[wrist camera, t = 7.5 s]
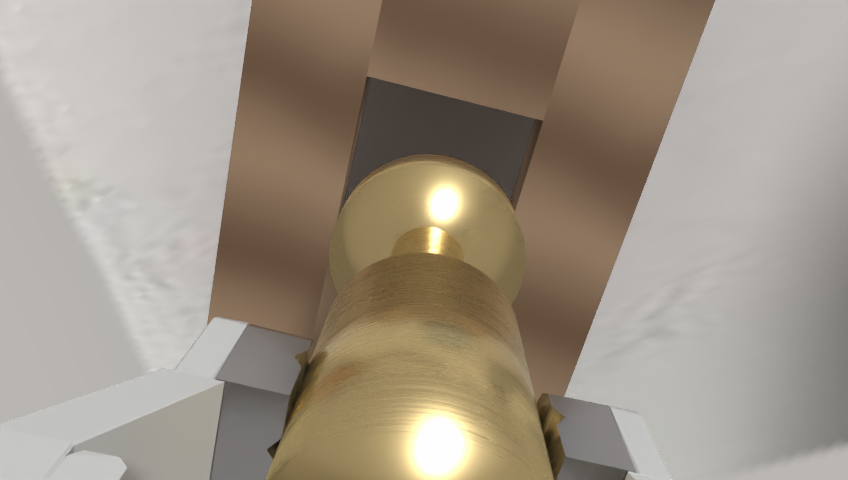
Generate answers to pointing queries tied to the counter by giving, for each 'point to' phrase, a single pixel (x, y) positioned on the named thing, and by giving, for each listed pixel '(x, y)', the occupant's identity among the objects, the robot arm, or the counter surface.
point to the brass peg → (420, 338)
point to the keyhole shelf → (469, 81)
